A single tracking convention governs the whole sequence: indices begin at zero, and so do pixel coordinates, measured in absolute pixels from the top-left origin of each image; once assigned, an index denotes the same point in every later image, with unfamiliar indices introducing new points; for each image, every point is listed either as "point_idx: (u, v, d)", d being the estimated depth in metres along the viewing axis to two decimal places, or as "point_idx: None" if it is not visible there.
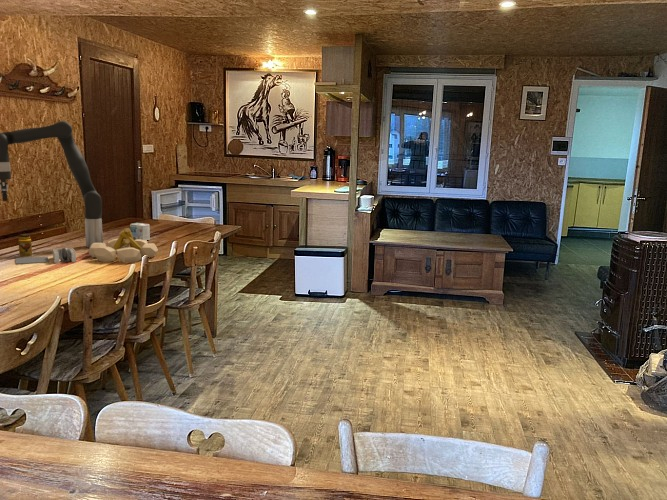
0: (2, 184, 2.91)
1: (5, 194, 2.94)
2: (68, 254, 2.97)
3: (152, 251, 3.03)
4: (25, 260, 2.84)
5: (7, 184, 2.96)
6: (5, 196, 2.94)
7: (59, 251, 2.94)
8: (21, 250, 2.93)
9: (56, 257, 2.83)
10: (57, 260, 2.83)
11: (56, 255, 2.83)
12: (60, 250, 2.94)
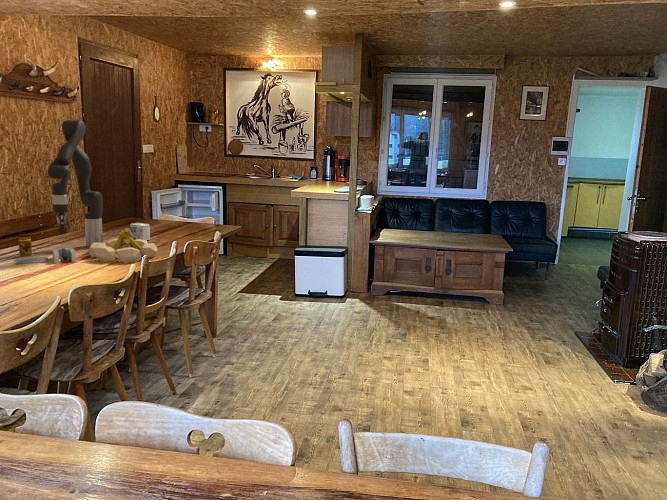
0: (60, 217, 2.86)
1: (63, 227, 2.89)
2: (68, 254, 2.97)
3: (152, 251, 3.03)
4: (25, 260, 2.84)
5: None
6: (63, 229, 2.89)
7: (59, 251, 2.94)
8: (21, 250, 2.93)
9: (56, 257, 2.83)
10: (57, 260, 2.83)
11: (56, 255, 2.83)
12: (60, 250, 2.94)
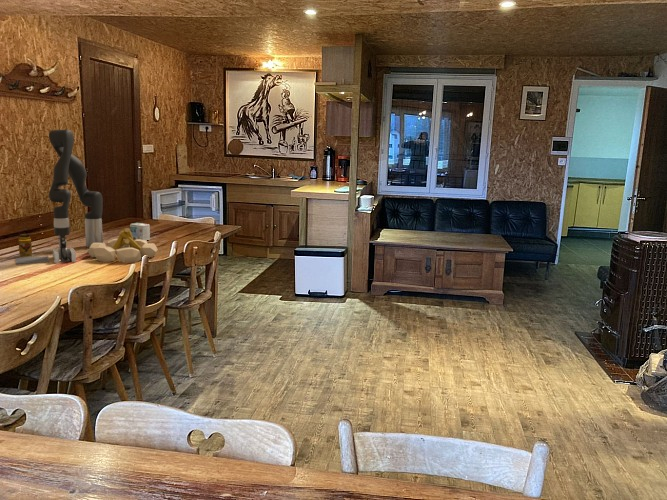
0: (62, 244, 2.90)
1: None
2: (68, 254, 2.97)
3: (152, 251, 3.03)
4: (25, 260, 2.84)
5: (66, 240, 2.94)
6: None
7: (59, 251, 2.94)
8: (21, 250, 2.93)
9: (56, 257, 2.83)
10: (57, 260, 2.83)
11: (56, 255, 2.83)
12: None
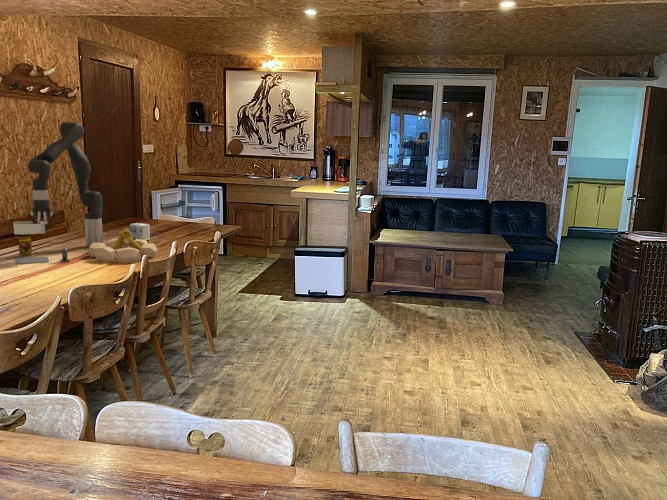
0: (28, 215, 2.82)
1: None
2: None
3: (151, 251, 3.03)
4: (25, 260, 2.84)
5: (37, 214, 2.82)
6: None
7: None
8: (21, 250, 2.93)
9: None
10: None
11: (13, 223, 2.82)
12: None
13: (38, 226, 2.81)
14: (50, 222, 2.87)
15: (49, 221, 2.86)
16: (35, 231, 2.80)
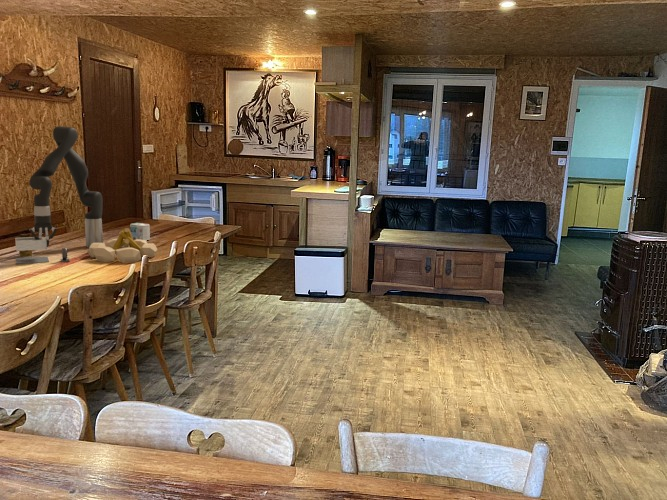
0: (30, 231, 2.84)
1: None
2: None
3: (151, 251, 3.03)
4: (25, 260, 2.84)
5: (39, 229, 2.84)
6: None
7: None
8: None
9: (15, 241, 2.84)
10: None
11: (15, 239, 2.84)
12: (41, 239, 2.88)
13: (40, 242, 2.82)
14: (52, 237, 2.88)
15: (51, 236, 2.88)
16: (37, 247, 2.82)
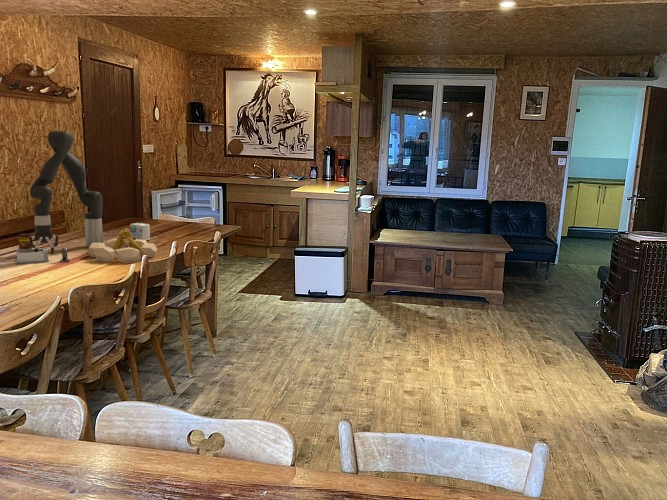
0: (29, 238, 2.84)
1: None
2: None
3: (151, 251, 3.03)
4: None
5: (39, 238, 2.84)
6: None
7: None
8: None
9: None
10: None
11: None
12: (42, 250, 2.89)
13: (41, 254, 2.83)
14: (57, 245, 2.90)
15: (56, 244, 2.90)
16: (38, 259, 2.83)
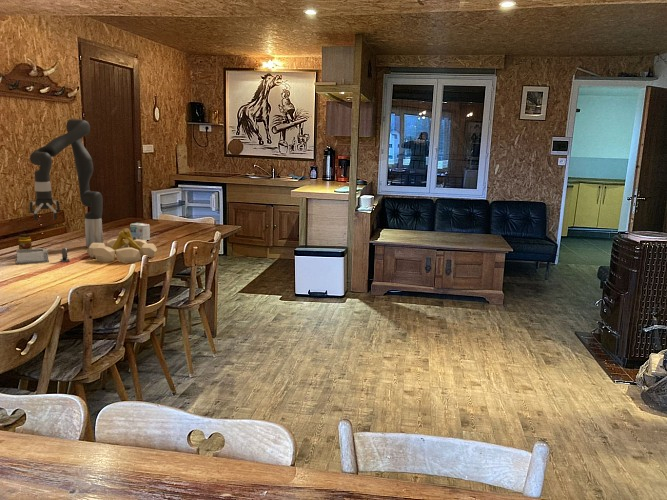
0: None
1: None
2: None
3: (151, 251, 3.03)
4: None
5: (40, 204, 2.87)
6: (34, 216, 2.88)
7: None
8: None
9: None
10: None
11: None
12: (42, 250, 2.89)
13: (41, 254, 2.83)
14: (59, 210, 2.93)
15: (58, 210, 2.93)
16: (38, 259, 2.83)
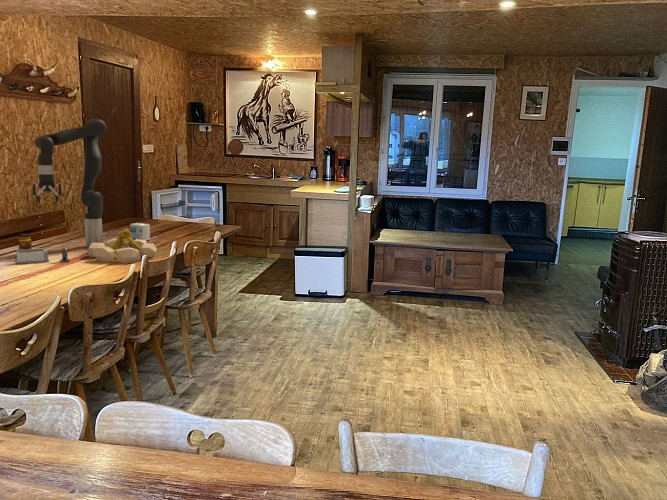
0: None
1: None
2: None
3: (151, 251, 3.03)
4: None
5: (42, 187, 2.99)
6: None
7: None
8: None
9: None
10: None
11: None
12: (42, 250, 2.89)
13: (41, 254, 2.83)
14: (61, 193, 3.05)
15: (60, 193, 3.05)
16: (38, 259, 2.83)
